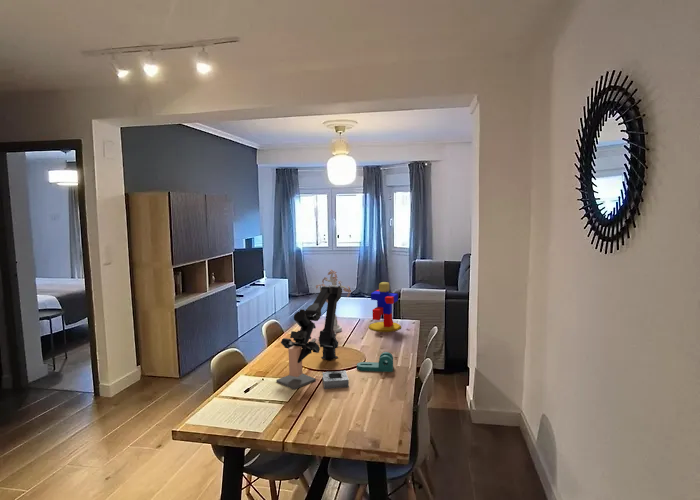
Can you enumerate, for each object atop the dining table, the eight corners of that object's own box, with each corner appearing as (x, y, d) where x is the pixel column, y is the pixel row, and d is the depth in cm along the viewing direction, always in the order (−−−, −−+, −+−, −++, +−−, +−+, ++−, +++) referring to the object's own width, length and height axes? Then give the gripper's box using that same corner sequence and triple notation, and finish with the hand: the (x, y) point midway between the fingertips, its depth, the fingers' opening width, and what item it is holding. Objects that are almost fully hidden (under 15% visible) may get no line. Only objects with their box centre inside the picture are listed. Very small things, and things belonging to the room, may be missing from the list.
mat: (298, 373, 212) (297, 371, 212) (315, 380, 203) (315, 378, 203) (276, 381, 203) (276, 379, 203) (294, 389, 194) (293, 387, 194)
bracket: (393, 367, 218) (393, 352, 218) (392, 372, 212) (392, 356, 211) (357, 366, 221) (357, 351, 220) (355, 371, 214) (355, 355, 214)
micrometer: (315, 349, 248) (315, 345, 248) (303, 349, 250) (303, 344, 250) (324, 341, 262) (324, 337, 262) (313, 341, 264) (313, 336, 264)
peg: (294, 372, 206) (293, 345, 204) (302, 373, 204) (301, 346, 202) (289, 375, 202) (288, 348, 200) (297, 377, 200) (296, 349, 198)
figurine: (405, 324, 294) (404, 280, 291) (395, 333, 274) (394, 286, 271) (375, 321, 303) (374, 279, 299) (363, 330, 283) (362, 284, 280)
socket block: (322, 379, 205) (322, 372, 204) (345, 377, 206) (345, 370, 206) (324, 389, 194) (324, 381, 193) (348, 387, 195) (348, 379, 195)
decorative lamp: (352, 337, 267) (351, 273, 263) (314, 338, 268) (312, 274, 264) (352, 325, 295) (351, 266, 291) (318, 325, 295) (316, 267, 291)
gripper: (282, 321, 208) (269, 351, 199) (315, 325, 200) (304, 356, 191) (291, 333, 216) (280, 362, 207) (324, 337, 208) (313, 367, 199)
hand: (293, 361), depth 201 cm, fingers closed on peg, 4 cm apart
